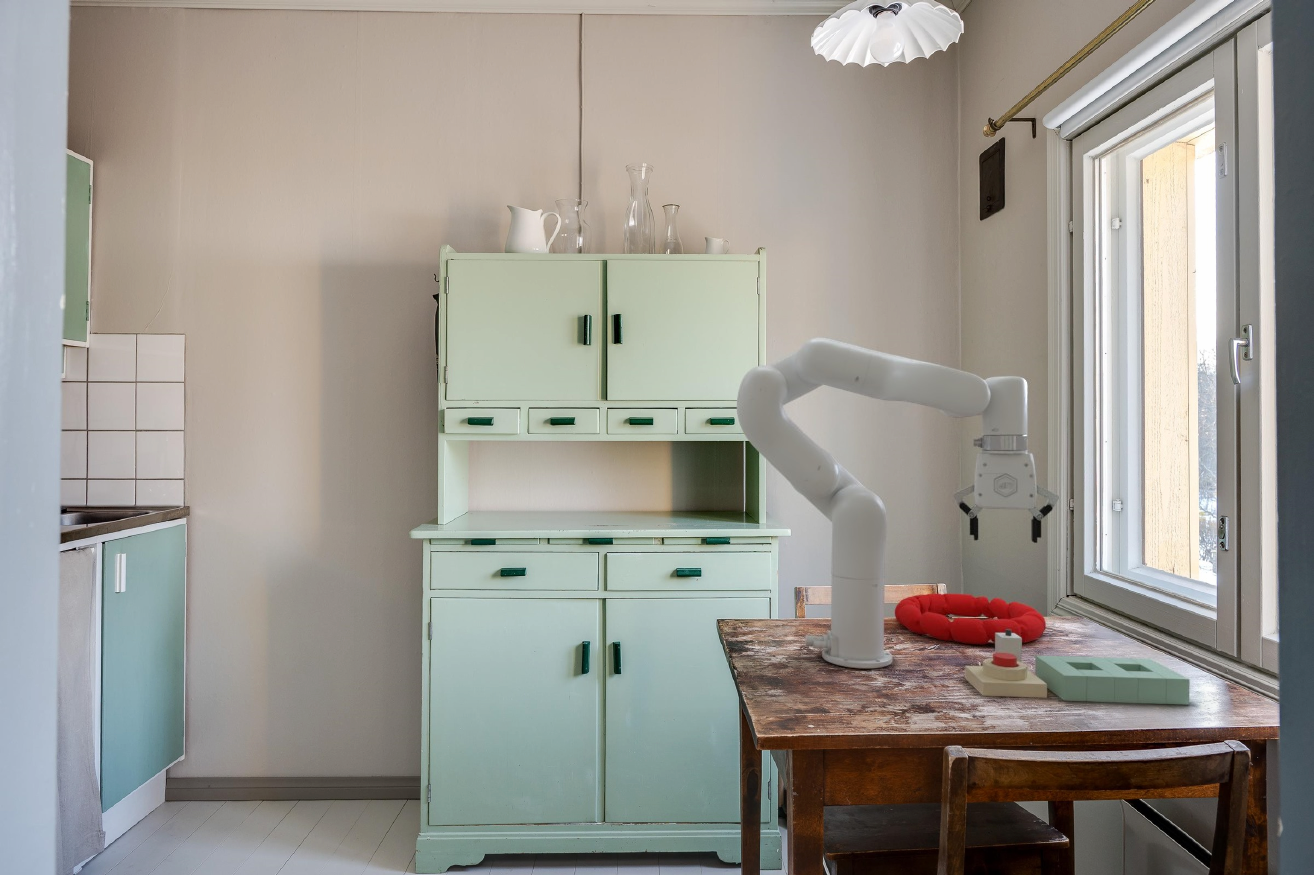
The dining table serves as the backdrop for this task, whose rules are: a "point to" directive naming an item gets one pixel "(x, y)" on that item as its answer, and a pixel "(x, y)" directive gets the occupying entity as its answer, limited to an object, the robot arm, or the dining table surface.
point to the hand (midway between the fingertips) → (1004, 540)
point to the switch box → (1005, 680)
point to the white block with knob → (1009, 644)
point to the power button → (1005, 660)
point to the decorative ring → (930, 618)
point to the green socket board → (1112, 680)
